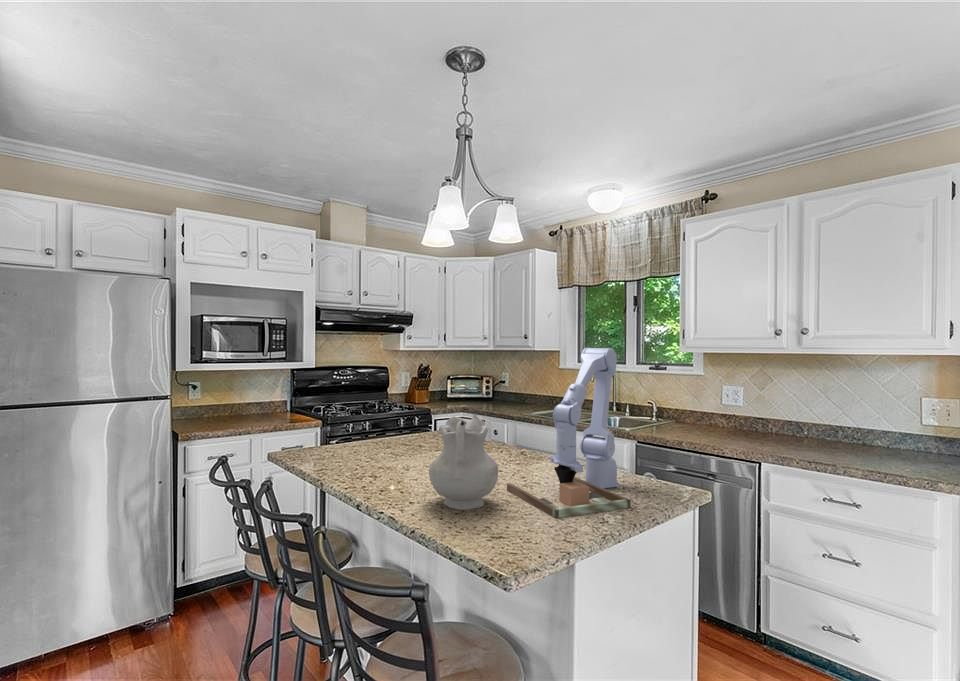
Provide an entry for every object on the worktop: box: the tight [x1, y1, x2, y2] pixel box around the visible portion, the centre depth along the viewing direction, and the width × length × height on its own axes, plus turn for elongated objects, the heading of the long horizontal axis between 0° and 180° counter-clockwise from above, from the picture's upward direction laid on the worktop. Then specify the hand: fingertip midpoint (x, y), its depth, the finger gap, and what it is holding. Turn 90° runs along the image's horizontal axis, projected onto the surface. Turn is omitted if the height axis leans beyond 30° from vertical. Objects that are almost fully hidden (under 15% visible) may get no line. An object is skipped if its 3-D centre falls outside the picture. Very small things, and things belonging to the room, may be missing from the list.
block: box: [558, 482, 590, 507], centre depth 148 cm, size 6×6×5 cm
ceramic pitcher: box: [428, 414, 499, 511], centre depth 145 cm, size 22×20×25 cm
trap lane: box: [506, 476, 632, 519], centre depth 153 cm, size 24×28×2 cm
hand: (565, 491), depth 152 cm, fingers closed
